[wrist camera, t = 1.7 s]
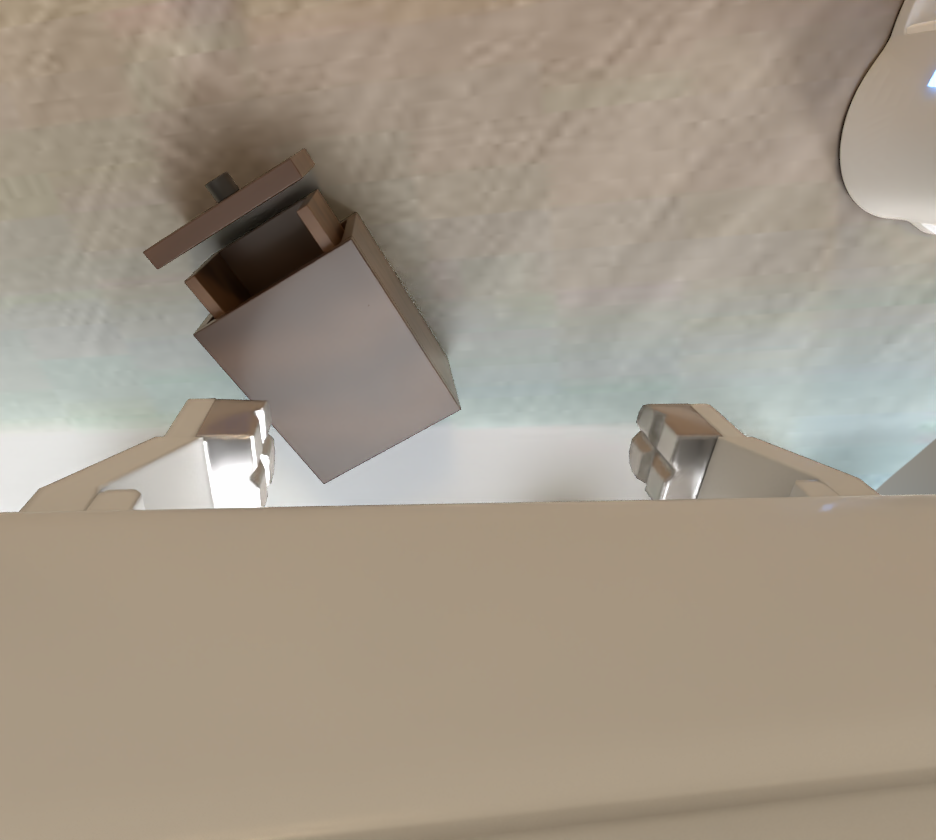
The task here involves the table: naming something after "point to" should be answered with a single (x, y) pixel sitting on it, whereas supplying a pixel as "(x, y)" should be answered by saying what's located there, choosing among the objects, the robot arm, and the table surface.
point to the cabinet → (336, 356)
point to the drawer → (253, 237)
